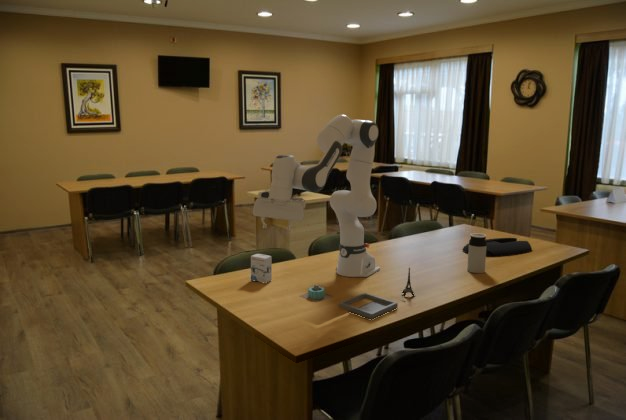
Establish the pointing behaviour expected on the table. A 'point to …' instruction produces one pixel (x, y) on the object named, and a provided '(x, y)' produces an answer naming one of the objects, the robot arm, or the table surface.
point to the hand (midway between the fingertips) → (276, 229)
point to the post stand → (316, 288)
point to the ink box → (261, 268)
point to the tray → (369, 306)
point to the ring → (316, 293)
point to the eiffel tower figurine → (408, 289)
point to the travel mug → (477, 253)
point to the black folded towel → (504, 247)
